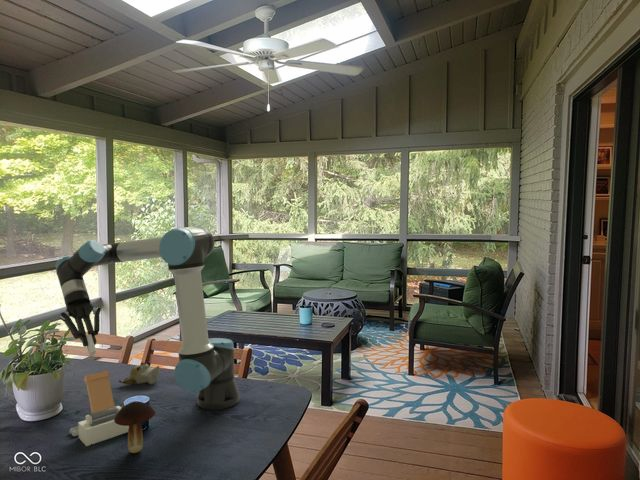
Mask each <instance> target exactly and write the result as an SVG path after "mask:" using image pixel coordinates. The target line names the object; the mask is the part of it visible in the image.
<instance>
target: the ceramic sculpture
mask: <svg viewBox="0 0 640 480" xmlns="http://www.w3.org/2000/svg"><path fill="white" fill-rule="evenodd" d="M129 373H130V375H129V376H128V377H124V378H123V379H122V380H118V382H119V383H121V384H124V385H132V384H140V385H141V384H145V383H147V384H149V385H154V384H156V383H157V381H158V377H159V375H160V366H159V365H157V366H154V367H151V366H149V364H148V363H146V362H141V363H140V364H138V365H135V366H134V367H133V368H132V369H131V371H130V372H129Z"/></svg>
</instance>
